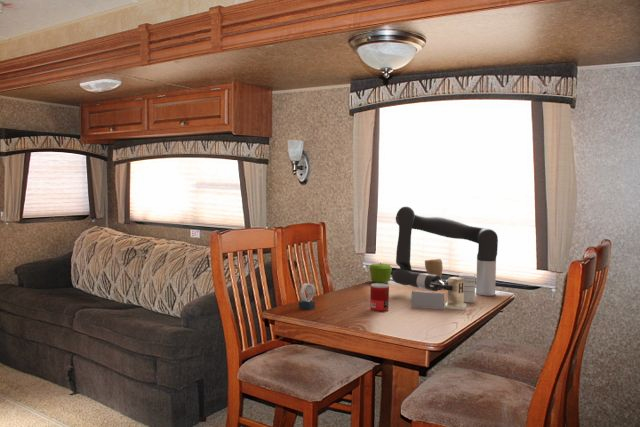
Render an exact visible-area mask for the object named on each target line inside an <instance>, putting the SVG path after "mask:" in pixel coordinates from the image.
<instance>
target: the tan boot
mask: <svg viewBox="0 0 640 427" xmlns="http://www.w3.org/2000/svg"><path fill="white" fill-rule="evenodd" d="M424 268H425V270H426V274H432V275H438V276H439V277H440V278H441V280H443V279H442V277H443V276H442V274H443V269H444V267H443V260H442V259H441V258H435V259H434V258H433V259H432V258H431V259H425V260H424Z"/></svg>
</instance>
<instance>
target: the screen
mask: <svg viewBox="0 0 640 427" xmlns="http://www.w3.org/2000/svg"><path fill="white" fill-rule="evenodd" d="M410 304H411V305H410V307H411V308H421V309H429V310H431V309H432V310H444V309H445V308H444V305H445V293H444V292H435V291H420V290H412V291H411V303H410Z"/></svg>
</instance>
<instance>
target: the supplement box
mask: <svg viewBox="0 0 640 427" xmlns="http://www.w3.org/2000/svg"><path fill="white" fill-rule="evenodd" d="M458 278H464V303H475V302H476V299H475V298H476V276H475V274H474V273H470V272H469V273H467V272H466V273H465V272H464V273H463V272H458Z"/></svg>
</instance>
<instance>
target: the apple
mask: <svg viewBox="0 0 640 427" xmlns="http://www.w3.org/2000/svg"><path fill="white" fill-rule="evenodd" d="M392 270H393V267H392V266H391V265H390V264H387V263H381V262H380V263H374V264H373V263H372V264H371V265H370V266H369V271H370V278H371V279H370V281H371V282H373V284H374V283H382V284H387V283H389V282H390V281H391V278H392V273H393V271H392Z"/></svg>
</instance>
